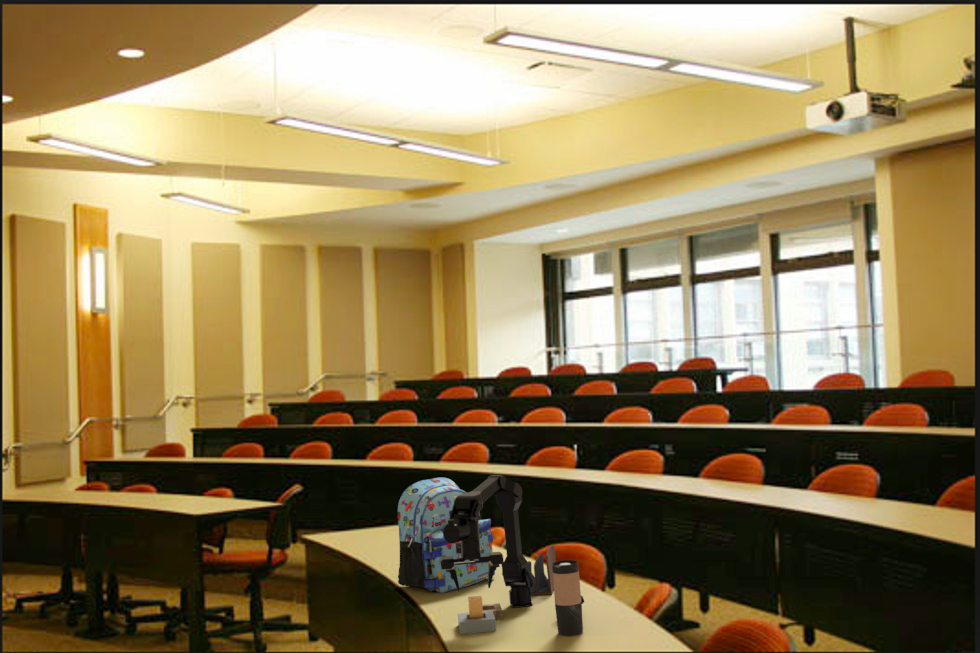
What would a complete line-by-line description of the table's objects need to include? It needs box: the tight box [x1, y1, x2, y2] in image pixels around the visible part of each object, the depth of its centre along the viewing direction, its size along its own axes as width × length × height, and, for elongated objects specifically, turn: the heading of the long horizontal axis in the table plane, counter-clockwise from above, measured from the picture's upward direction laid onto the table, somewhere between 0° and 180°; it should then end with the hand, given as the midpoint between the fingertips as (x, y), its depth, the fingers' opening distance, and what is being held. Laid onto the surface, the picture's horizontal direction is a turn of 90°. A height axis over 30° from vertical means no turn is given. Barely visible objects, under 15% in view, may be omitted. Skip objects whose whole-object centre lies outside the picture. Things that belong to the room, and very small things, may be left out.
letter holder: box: [527, 544, 557, 597], centre depth 348 cm, size 10×20×14 cm, turn 170°
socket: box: [457, 610, 497, 635], centre depth 303 cm, size 11×11×4 cm
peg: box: [467, 595, 484, 619], centre depth 303 cm, size 4×4×9 cm
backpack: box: [397, 477, 496, 594], centre depth 369 cm, size 34×25×38 cm
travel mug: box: [552, 559, 584, 637], centre depth 290 cm, size 8×8×20 cm
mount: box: [482, 602, 504, 620], centre depth 316 cm, size 9×9×2 cm
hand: (473, 589), depth 303 cm, fingers open, 9 cm apart
